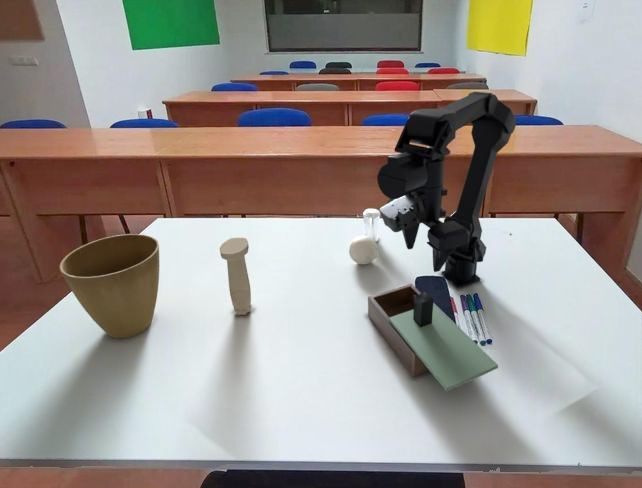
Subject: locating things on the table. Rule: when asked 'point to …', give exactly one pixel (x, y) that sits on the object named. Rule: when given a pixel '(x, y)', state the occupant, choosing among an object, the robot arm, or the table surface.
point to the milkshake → (371, 223)
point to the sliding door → (441, 344)
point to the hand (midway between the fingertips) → (422, 259)
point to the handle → (237, 273)
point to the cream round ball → (363, 250)
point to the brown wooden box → (380, 313)
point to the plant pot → (116, 281)
